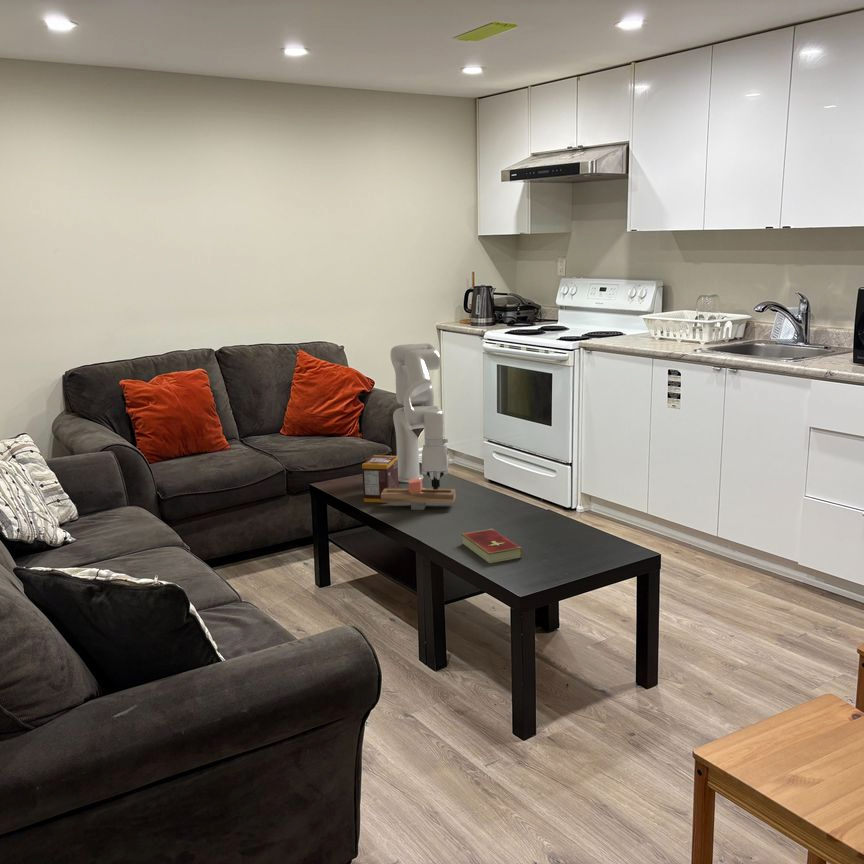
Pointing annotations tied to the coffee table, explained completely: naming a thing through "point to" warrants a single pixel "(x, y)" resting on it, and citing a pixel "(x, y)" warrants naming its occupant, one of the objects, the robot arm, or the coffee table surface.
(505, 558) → the hardcover book
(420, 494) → the beam
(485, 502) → the coffee table surface
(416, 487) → the block
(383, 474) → the supplement box
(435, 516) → the coffee table surface
